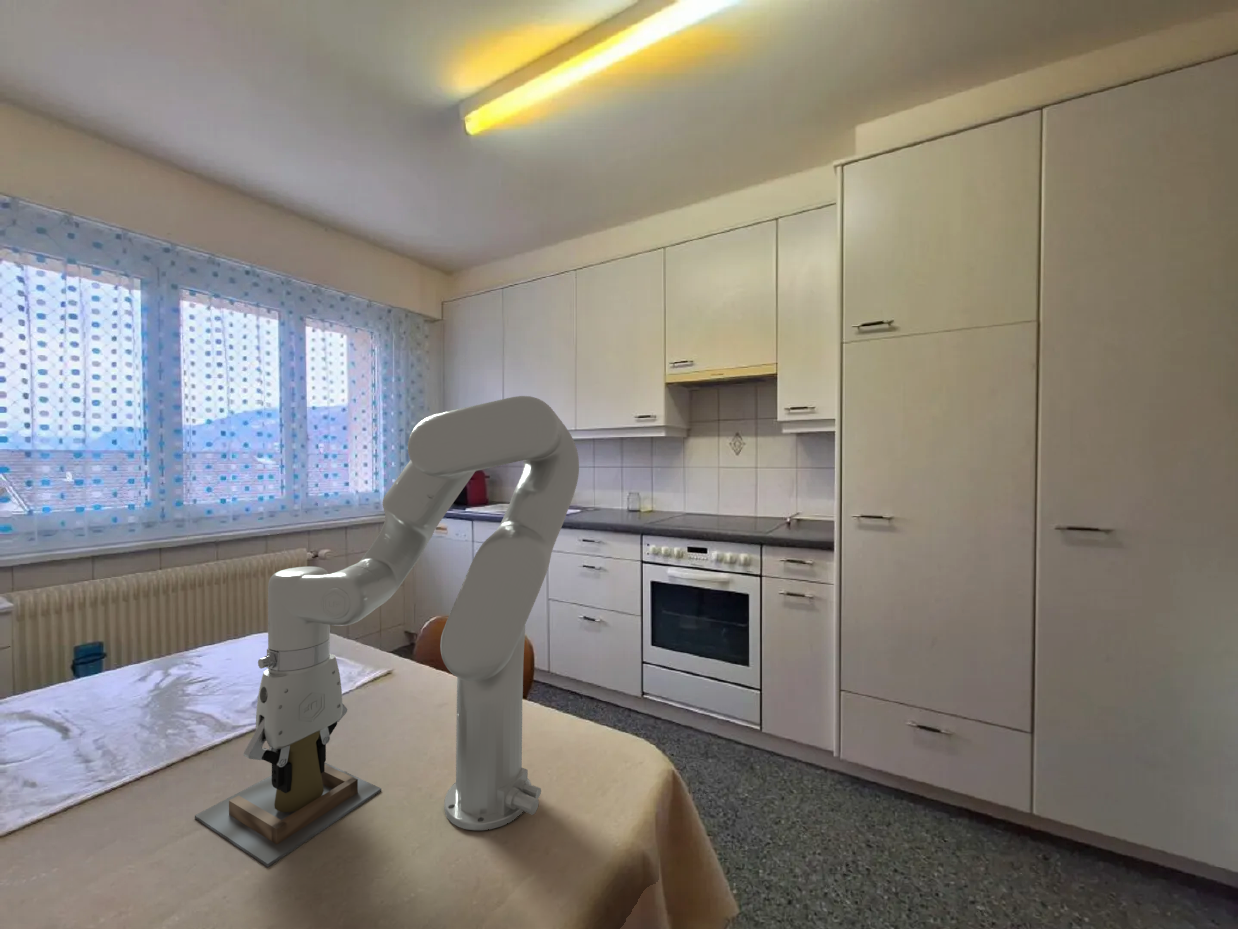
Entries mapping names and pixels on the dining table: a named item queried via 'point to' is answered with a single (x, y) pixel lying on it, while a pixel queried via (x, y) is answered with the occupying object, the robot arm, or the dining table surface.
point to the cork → (302, 776)
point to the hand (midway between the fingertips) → (299, 778)
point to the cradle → (284, 815)
